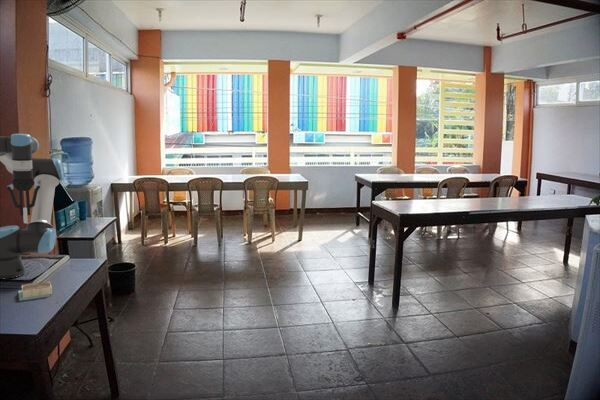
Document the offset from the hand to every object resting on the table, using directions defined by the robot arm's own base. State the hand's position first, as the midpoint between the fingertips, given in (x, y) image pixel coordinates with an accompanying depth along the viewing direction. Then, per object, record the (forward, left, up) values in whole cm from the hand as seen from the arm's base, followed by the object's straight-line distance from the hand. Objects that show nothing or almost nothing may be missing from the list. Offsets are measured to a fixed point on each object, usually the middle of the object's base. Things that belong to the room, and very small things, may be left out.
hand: (25, 222), depth 209 cm
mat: (+12, +1, -29) cm, 32 cm away
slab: (+12, +8, -27) cm, 31 cm away
